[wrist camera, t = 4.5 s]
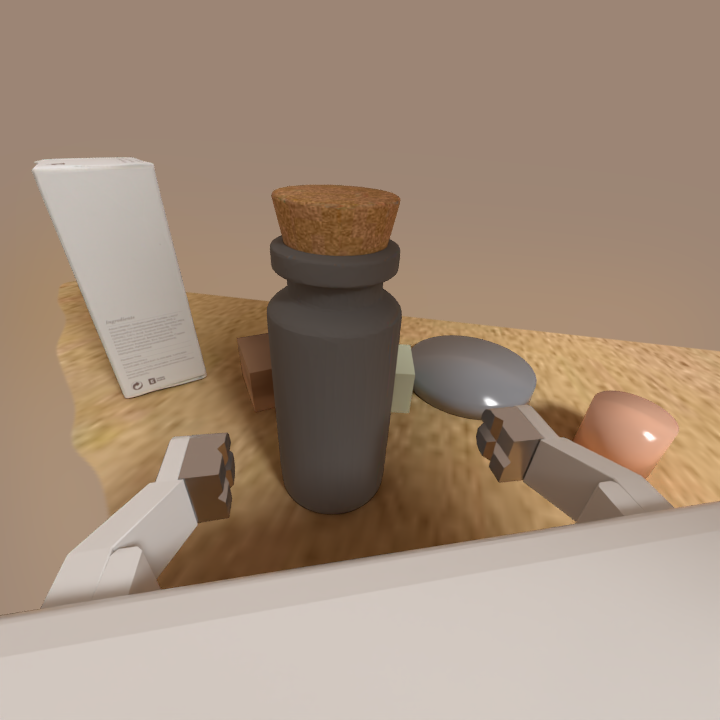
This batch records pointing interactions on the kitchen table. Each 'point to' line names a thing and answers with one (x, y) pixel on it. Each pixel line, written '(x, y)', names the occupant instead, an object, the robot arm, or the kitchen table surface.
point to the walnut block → (257, 370)
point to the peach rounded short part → (627, 430)
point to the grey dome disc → (470, 375)
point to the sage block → (403, 380)
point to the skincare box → (124, 267)
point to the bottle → (333, 341)
